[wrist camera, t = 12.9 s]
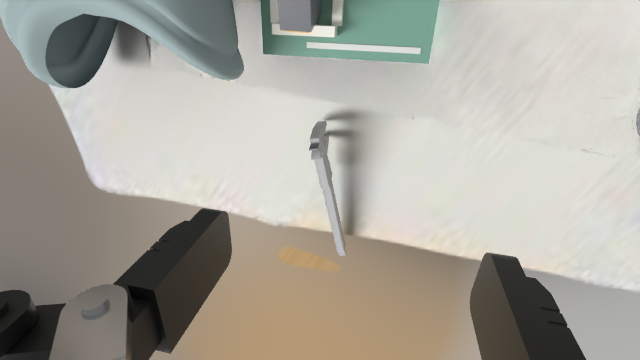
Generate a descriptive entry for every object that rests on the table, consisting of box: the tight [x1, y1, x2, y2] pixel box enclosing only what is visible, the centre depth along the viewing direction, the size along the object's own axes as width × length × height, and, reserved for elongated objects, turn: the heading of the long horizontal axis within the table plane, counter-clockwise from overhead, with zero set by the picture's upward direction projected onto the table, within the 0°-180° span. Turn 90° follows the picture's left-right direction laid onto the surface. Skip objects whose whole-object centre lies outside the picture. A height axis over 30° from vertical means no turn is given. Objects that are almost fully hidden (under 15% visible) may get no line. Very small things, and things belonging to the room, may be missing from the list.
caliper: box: [309, 121, 346, 256], centre depth 42 cm, size 20×1×6 cm, turn 9°
